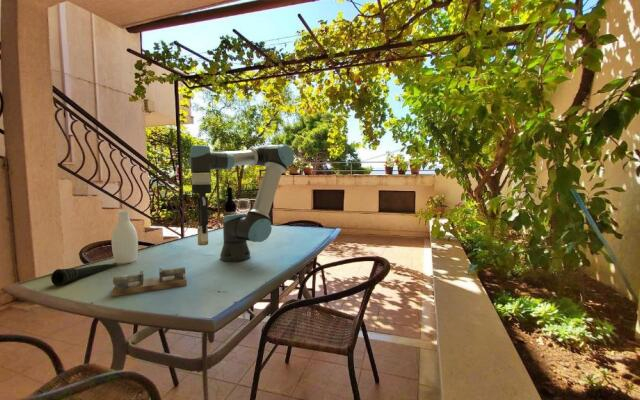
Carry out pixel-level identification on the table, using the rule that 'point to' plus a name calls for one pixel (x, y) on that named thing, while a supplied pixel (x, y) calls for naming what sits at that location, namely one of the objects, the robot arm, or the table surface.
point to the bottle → (124, 240)
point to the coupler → (200, 239)
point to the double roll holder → (149, 281)
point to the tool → (76, 273)
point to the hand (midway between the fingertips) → (203, 239)
